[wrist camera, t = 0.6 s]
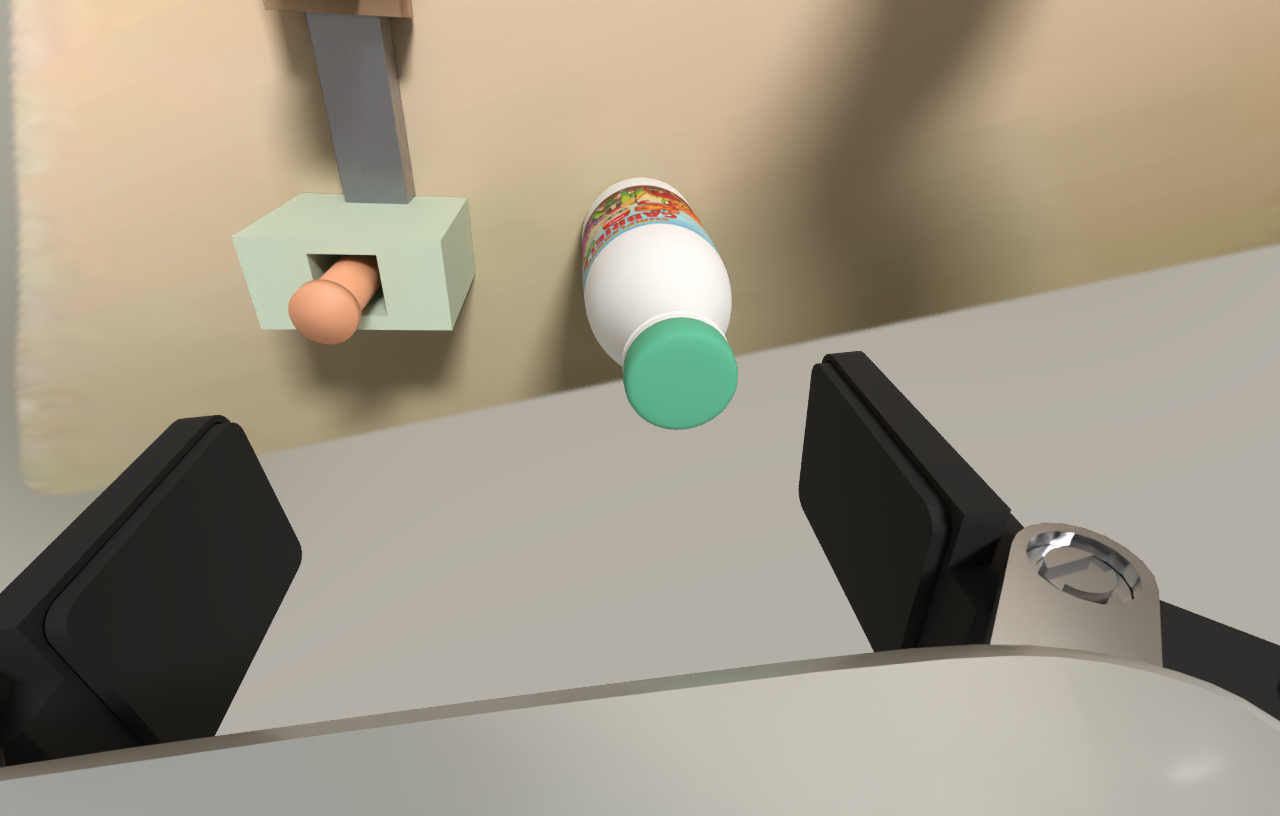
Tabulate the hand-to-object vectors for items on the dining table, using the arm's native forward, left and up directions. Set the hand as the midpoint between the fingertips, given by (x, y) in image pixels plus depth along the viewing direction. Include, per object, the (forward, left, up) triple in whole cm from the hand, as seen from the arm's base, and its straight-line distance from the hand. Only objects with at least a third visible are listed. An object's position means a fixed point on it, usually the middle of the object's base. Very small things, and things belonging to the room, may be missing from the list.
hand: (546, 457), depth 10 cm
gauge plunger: (+6, -11, -26) cm, 29 cm away
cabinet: (+6, -11, -32) cm, 34 cm away
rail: (-4, -11, -32) cm, 34 cm away
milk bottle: (+6, +5, -32) cm, 33 cm away
